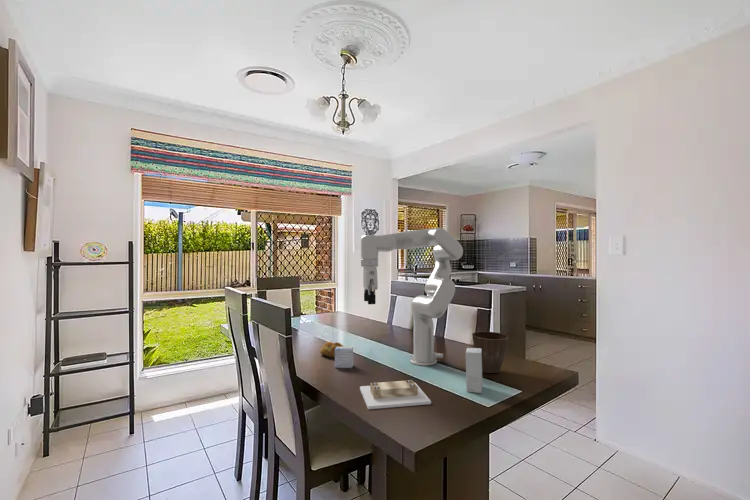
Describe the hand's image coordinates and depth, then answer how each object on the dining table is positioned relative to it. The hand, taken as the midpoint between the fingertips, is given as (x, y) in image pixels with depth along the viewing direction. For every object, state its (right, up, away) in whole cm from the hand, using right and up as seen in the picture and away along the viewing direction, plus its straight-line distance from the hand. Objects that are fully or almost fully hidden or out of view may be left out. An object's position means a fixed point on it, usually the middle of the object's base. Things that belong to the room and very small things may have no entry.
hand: (369, 302), depth 155 cm
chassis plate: (+9, -30, -26) cm, 41 cm away
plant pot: (+53, -31, +1) cm, 61 cm away
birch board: (+9, -29, -26) cm, 40 cm away
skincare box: (+40, -30, -19) cm, 54 cm away
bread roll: (-19, -31, +25) cm, 44 cm away
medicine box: (-12, -31, +8) cm, 34 cm away
